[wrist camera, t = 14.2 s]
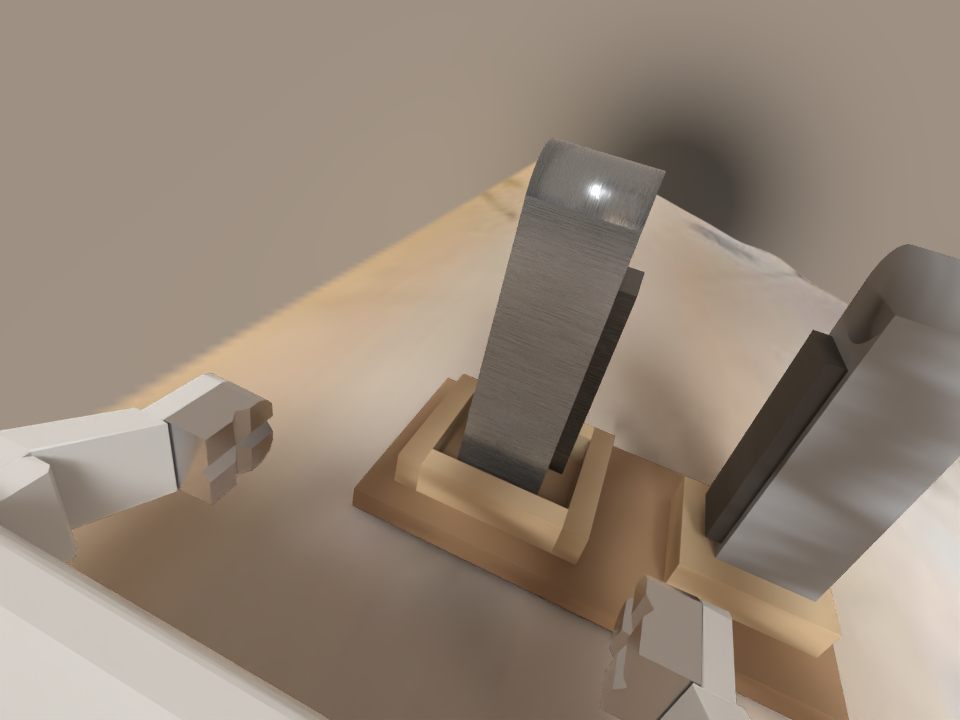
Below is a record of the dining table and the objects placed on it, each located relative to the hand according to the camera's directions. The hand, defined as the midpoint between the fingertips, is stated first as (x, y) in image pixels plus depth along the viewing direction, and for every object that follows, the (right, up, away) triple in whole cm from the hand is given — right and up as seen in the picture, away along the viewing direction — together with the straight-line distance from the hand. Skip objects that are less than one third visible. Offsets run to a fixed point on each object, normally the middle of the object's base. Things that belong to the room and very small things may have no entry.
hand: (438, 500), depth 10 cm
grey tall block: (+2, -2, +13) cm, 13 cm away
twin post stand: (+6, -4, +12) cm, 14 cm away
